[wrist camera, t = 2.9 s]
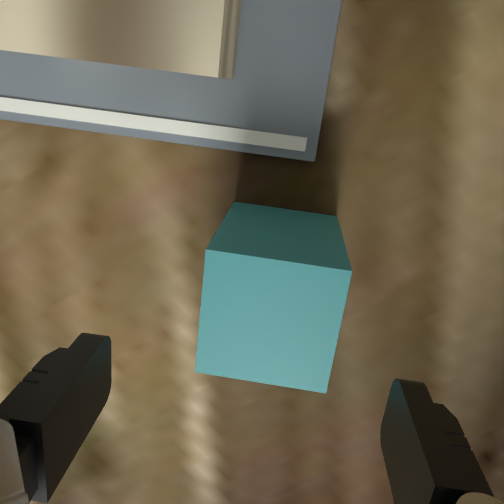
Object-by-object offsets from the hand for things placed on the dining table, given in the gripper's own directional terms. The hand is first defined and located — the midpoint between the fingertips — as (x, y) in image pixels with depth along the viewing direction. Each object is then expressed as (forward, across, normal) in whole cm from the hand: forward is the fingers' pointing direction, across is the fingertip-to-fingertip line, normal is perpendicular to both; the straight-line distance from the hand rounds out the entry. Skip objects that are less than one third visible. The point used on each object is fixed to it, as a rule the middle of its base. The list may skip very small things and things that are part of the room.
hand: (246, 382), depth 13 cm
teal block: (+11, 0, 0) cm, 11 cm away
